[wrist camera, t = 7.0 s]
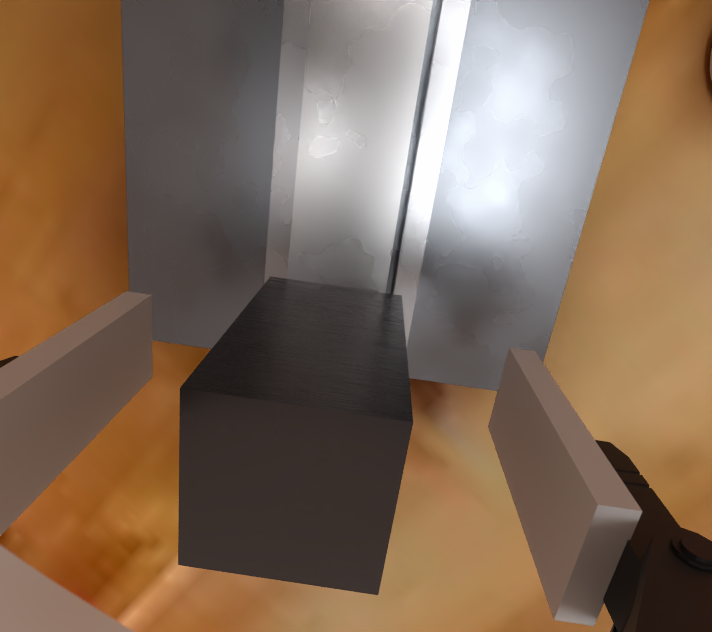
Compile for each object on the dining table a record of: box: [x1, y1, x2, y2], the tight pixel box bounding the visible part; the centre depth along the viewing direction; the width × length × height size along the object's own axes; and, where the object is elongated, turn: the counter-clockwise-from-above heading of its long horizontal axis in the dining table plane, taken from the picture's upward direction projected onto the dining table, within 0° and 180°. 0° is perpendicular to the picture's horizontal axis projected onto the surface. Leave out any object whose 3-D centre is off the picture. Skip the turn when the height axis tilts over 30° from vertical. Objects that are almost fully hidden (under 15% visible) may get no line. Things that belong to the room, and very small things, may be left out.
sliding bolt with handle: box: [178, 0, 433, 595], centre depth 12 cm, size 16×4×10 cm, turn 172°
